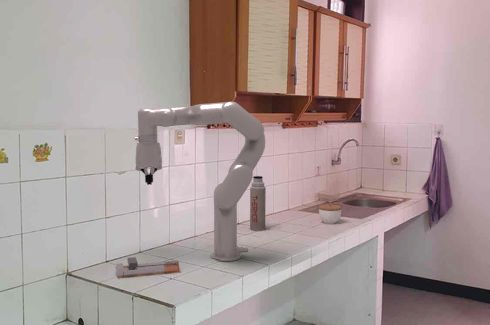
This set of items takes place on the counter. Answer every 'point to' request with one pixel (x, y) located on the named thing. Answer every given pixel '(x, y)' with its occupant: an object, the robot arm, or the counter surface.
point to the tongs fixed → (145, 270)
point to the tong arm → (158, 264)
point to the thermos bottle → (257, 204)
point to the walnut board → (147, 274)
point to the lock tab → (132, 262)
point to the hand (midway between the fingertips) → (149, 184)
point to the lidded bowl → (330, 213)
